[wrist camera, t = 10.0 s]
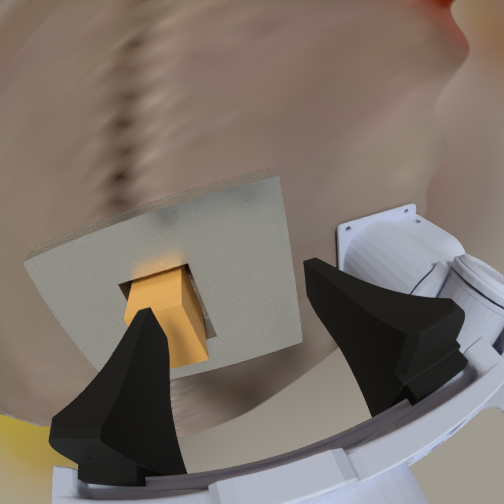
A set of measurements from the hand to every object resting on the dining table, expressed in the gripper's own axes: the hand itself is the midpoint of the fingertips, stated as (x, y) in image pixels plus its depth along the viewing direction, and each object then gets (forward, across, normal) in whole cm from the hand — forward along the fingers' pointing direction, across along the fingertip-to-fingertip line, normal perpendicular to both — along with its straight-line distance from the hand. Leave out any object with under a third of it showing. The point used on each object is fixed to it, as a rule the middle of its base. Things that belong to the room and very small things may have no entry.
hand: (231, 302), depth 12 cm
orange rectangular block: (+10, +5, +5) cm, 12 cm away
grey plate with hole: (+9, +5, +5) cm, 12 cm away
